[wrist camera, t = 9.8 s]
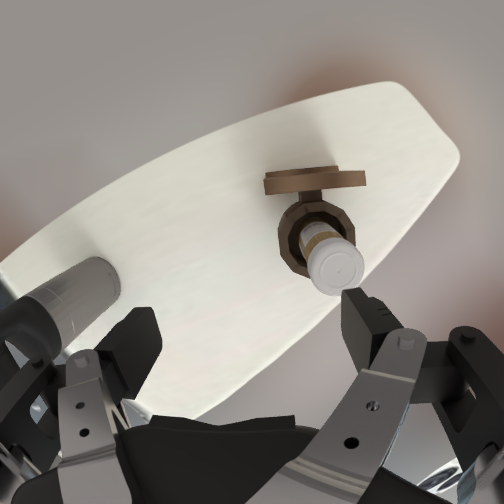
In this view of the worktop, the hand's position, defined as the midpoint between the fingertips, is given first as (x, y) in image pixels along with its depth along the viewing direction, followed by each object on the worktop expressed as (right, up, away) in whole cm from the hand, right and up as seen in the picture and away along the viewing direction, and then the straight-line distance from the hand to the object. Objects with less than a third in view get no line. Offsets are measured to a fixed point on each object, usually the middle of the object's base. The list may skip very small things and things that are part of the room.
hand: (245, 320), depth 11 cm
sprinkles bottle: (+8, +5, +23) cm, 25 cm away
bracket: (+8, +8, +27) cm, 29 cm away
